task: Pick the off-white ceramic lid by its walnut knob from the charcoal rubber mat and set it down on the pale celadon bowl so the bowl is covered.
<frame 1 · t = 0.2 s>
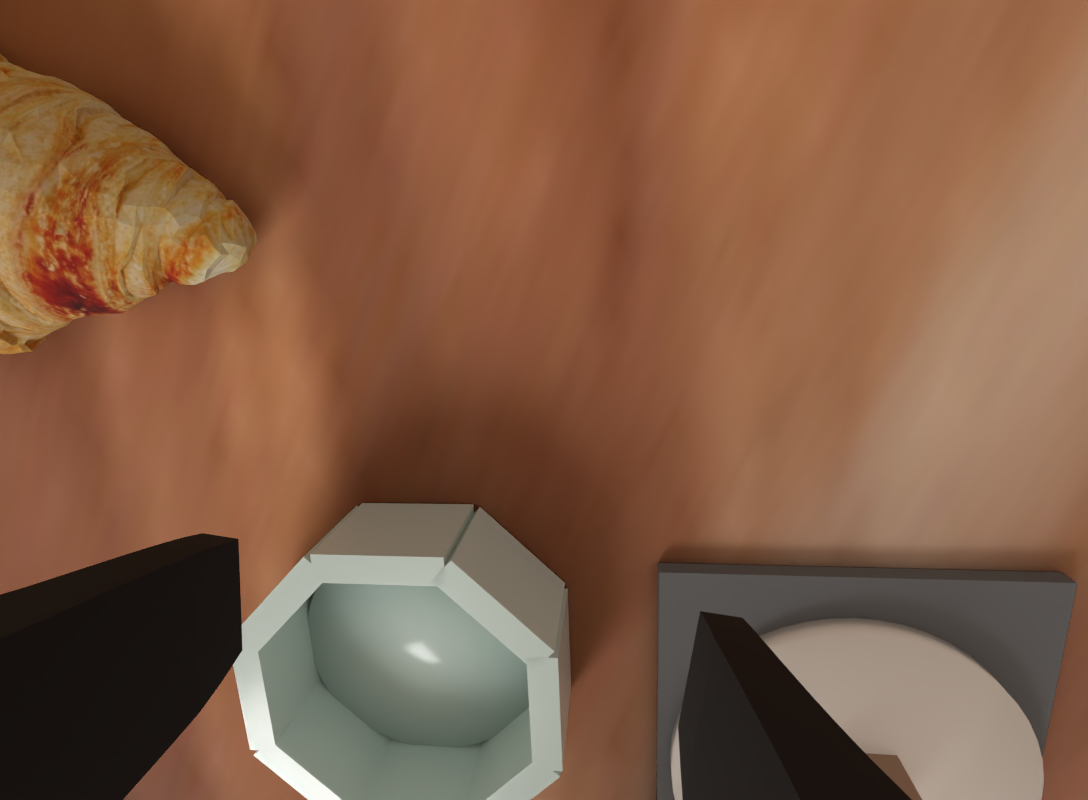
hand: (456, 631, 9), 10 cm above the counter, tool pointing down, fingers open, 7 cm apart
mat: (834, 750, 20), on the counter
bowl: (430, 633, 21), on the counter
lid: (840, 764, 19), point 1 cm above the counter, touching mat
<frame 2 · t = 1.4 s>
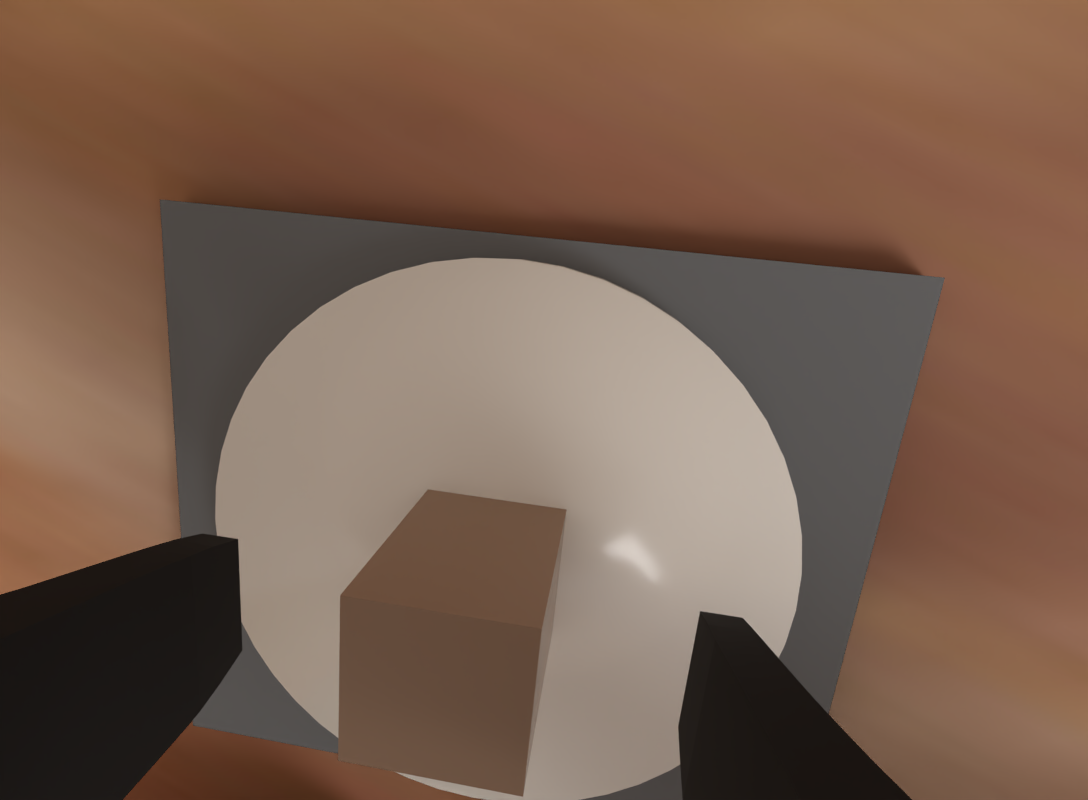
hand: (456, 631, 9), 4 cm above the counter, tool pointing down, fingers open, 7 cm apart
mat: (504, 529, 12), on the counter
lid: (499, 542, 12), point 1 cm above the counter, touching mat
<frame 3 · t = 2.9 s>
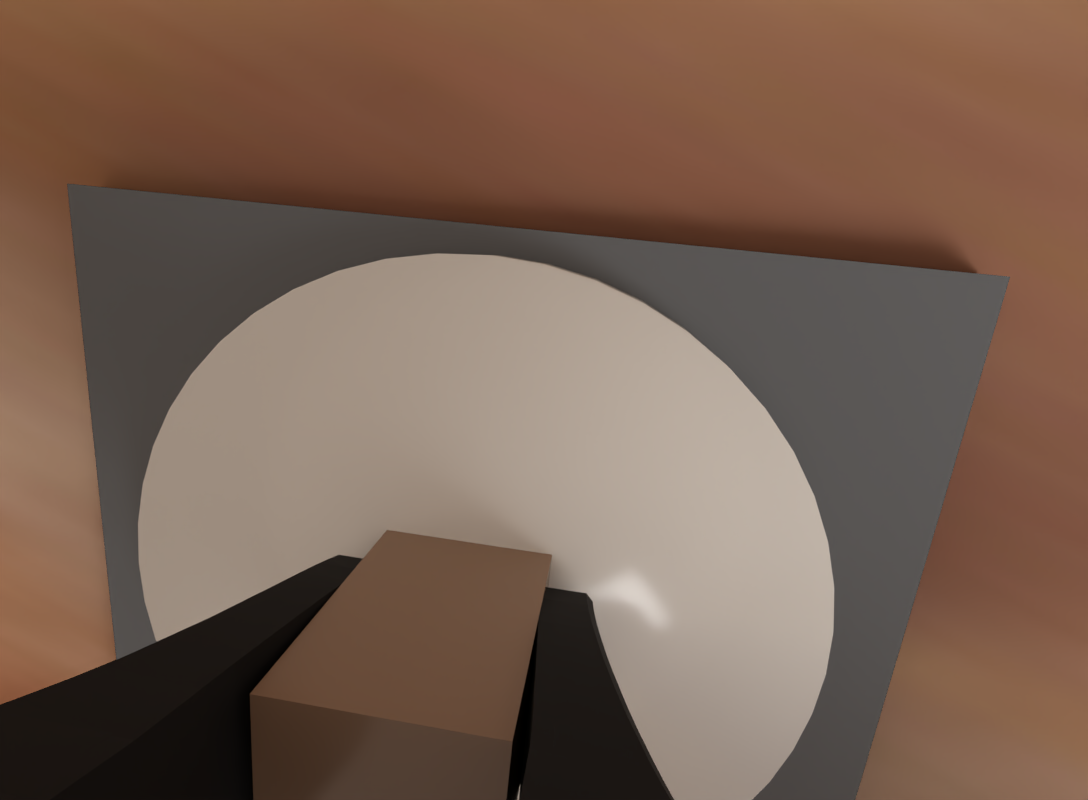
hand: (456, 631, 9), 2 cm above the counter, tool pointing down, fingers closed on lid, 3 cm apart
mat: (482, 569, 11), on the counter
lid: (474, 587, 10), point 1 cm above the counter, touching gripper, mat
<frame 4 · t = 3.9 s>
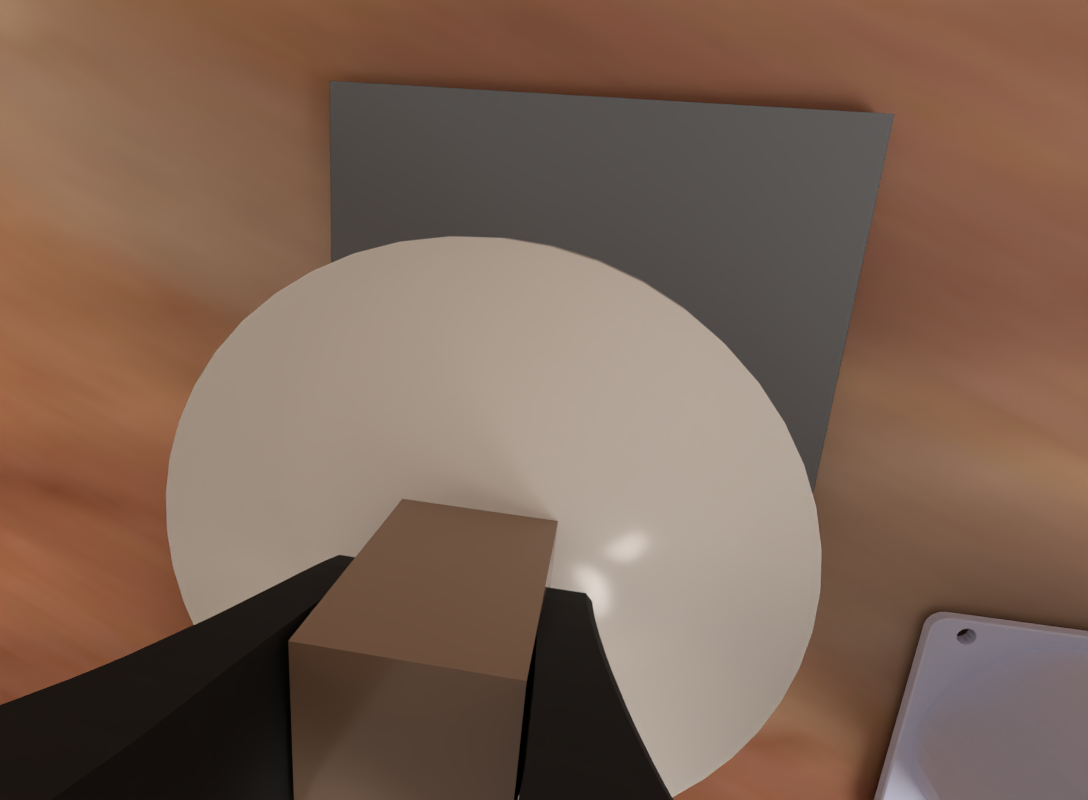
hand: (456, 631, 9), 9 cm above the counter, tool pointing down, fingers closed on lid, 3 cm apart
mat: (577, 333, 16), on the counter
lid: (484, 553, 11), point 7 cm above the counter, touching gripper
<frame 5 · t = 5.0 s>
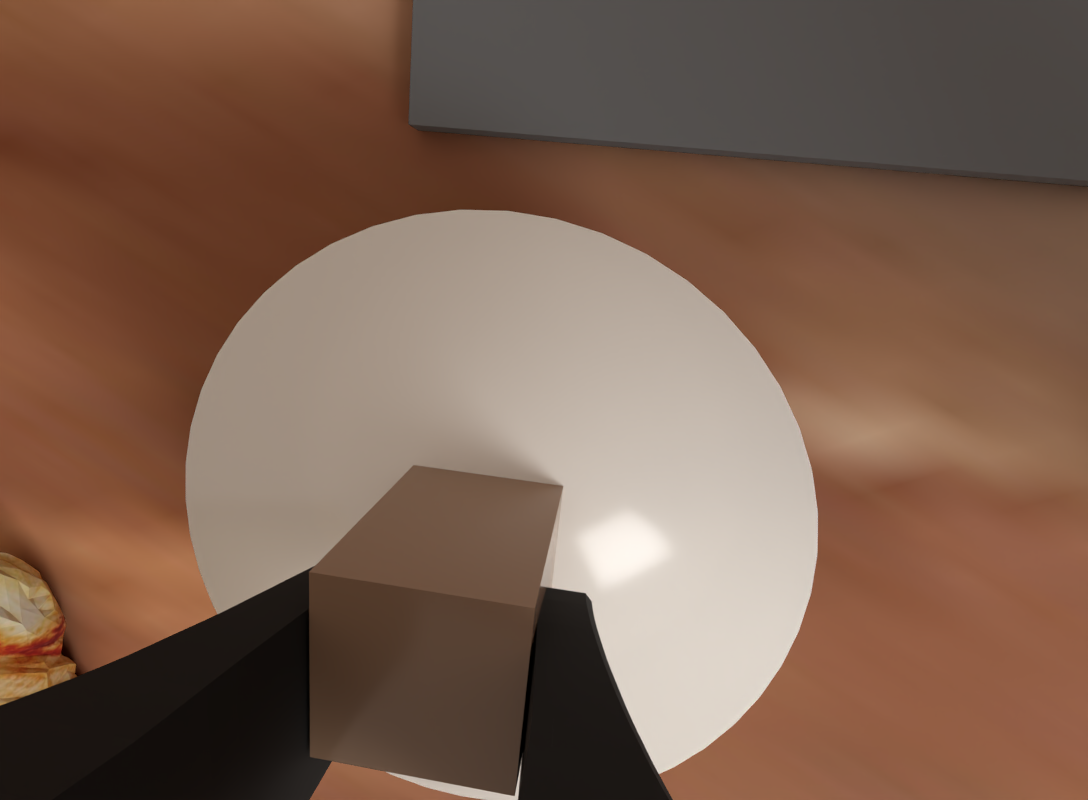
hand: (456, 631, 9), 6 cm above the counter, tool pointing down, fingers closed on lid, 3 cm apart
croissant: (45, 792, 20), on the counter
lid: (491, 523, 11), point 3 cm above the counter, touching bowl, gripper
when the fingers open (6 cm above the counter, at t = 5.7 s): lid stays where it is, resting on bowl.
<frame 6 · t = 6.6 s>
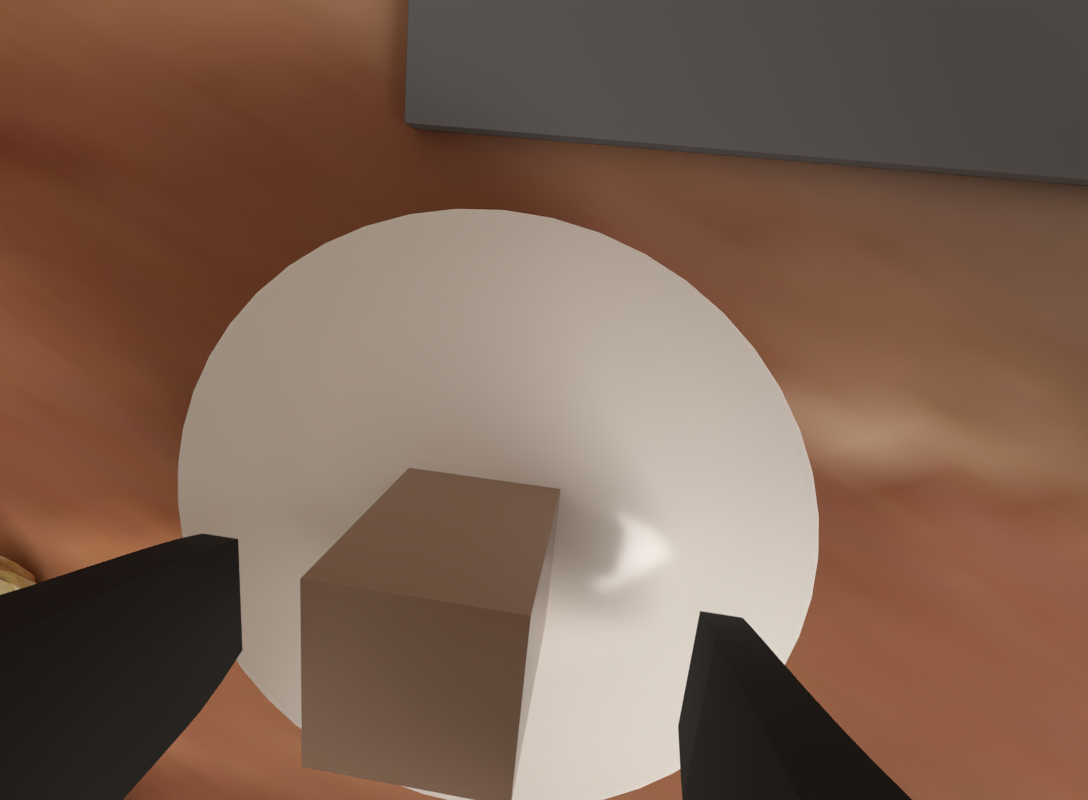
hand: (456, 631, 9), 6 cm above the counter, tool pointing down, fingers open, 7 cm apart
croissant: (37, 796, 20), on the counter
lid: (488, 527, 11), point 3 cm above the counter, touching bowl
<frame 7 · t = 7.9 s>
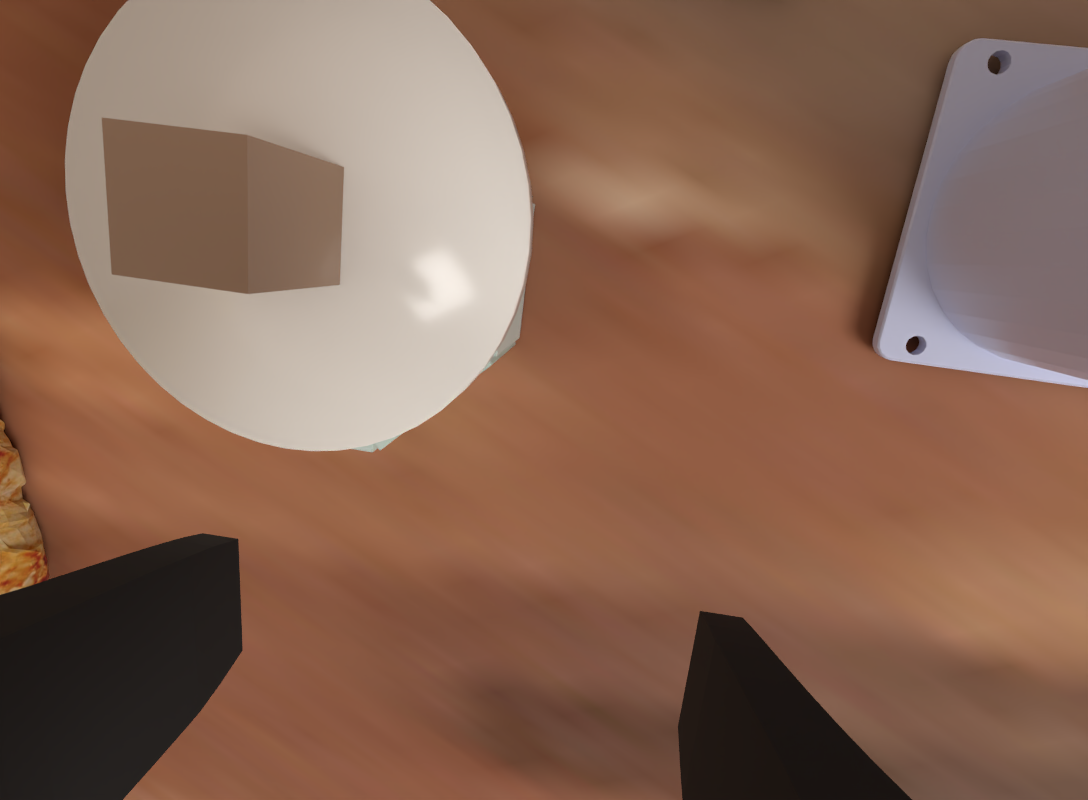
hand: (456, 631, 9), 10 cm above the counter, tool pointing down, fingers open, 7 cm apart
bowl: (365, 251, 18), on the counter
lid: (306, 222, 14), point 3 cm above the counter, touching bowl
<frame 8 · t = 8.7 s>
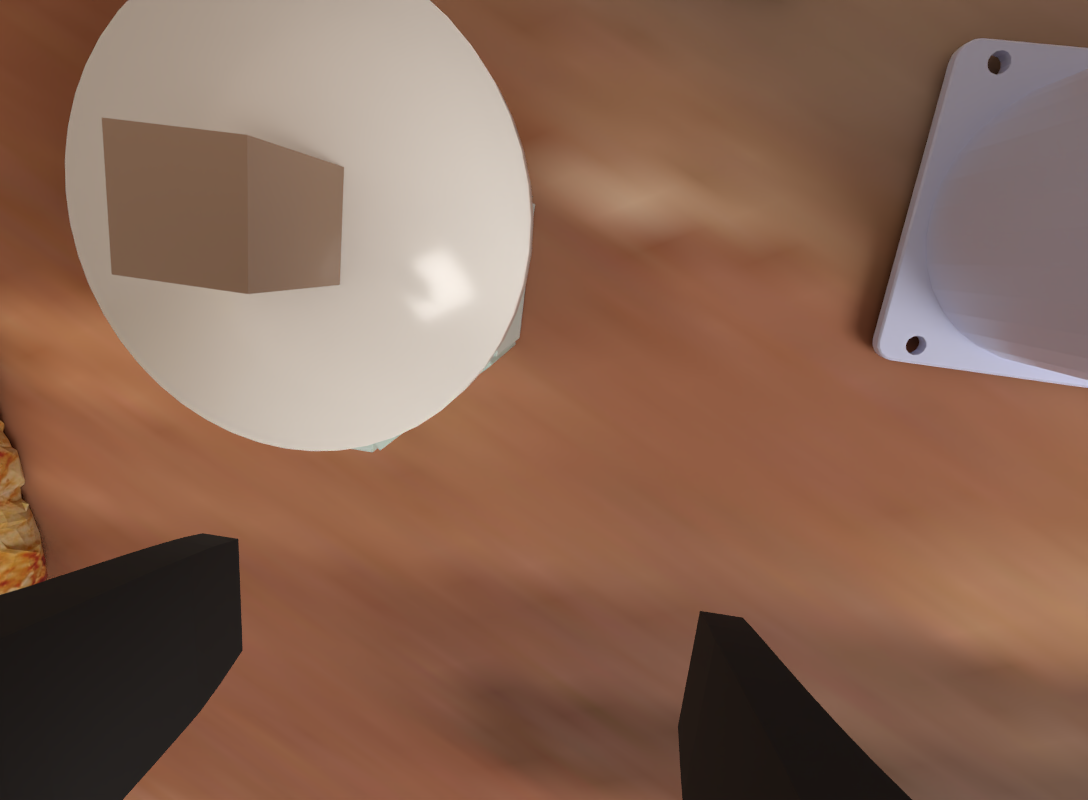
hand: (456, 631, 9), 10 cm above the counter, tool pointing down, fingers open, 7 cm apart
bowl: (365, 251, 18), on the counter
lid: (306, 222, 14), point 3 cm above the counter, touching bowl
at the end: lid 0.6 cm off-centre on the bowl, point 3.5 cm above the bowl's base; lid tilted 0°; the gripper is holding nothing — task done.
